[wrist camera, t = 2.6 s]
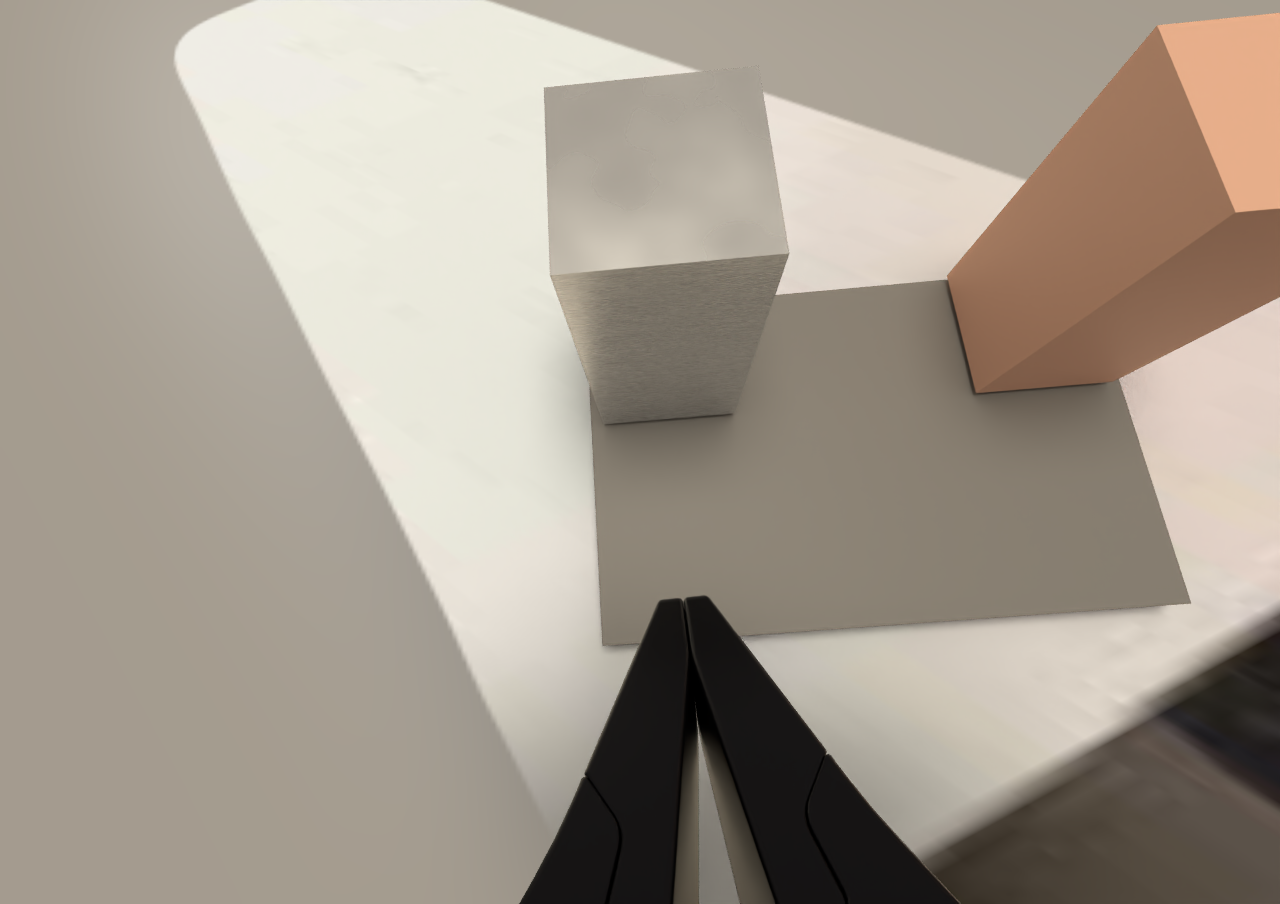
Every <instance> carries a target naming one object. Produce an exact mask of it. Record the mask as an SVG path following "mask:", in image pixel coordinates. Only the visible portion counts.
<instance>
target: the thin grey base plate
mask: <svg viewBox="0 0 1280 904" xmlns="http://www.w3.org/2000/svg"><path fill="white" fill-rule="evenodd" d="M589 386H590V385H589ZM590 406H591V426H592V445H593V465H594V485H595V505H596V525H597V545H598V565H599V585H600V605H601V624H602V644H603V646H606V645H620V644H634V643H640V642H641V640H642V637H643V635H644V632H645V630H646V628H647V625H648V623H649V621H650V618H651V616H652V614H653V611H654V609H655V607H656V604H657V603H658V601H660V600H663V599H672V598H681V599H682V600H683V604H684V599H685V598H686V597H692V596H701V595H706V596H708V597H709V598H710V599H711V600H712V601H713V603H714V604H715V605H716V607H717V608H718V609H719V611H720V612H721V613H722V615H723V616H724V617H725V618H726V620H727V621H728V622H729V624H730V625H731V626H732V628H733V629H734V630H735V632H736V633H737V634H738V635H739V636H745V635H759V634H773V633H787V632H801V631H815V630H829V629H843V628H857V627H871V626H885V625H898V624H912V623H926V622H940V621H954V620H968V619H982V618H996V617H1010V616H1024V615H1038V614H1052V613H1065V612H1079V611H1093V610H1107V609H1121V608H1135V607H1149V606H1163V605H1177V604H1191V601H1190V598H1189V595H1188V592H1187V589H1186V586H1185V583H1184V580H1183V577H1182V573H1181V570H1180V567H1179V564H1178V561H1177V558H1176V555H1175V552H1174V549H1173V546H1172V543H1171V539H1170V536H1169V533H1168V530H1167V527H1166V524H1165V521H1164V518H1163V515H1162V512H1161V508H1160V505H1159V502H1158V499H1157V496H1156V493H1155V490H1154V487H1153V484H1152V481H1151V478H1150V474H1149V471H1148V468H1147V465H1146V462H1145V459H1144V456H1143V453H1142V450H1141V447H1140V443H1139V440H1138V437H1137V434H1136V431H1135V428H1134V425H1133V422H1132V419H1131V416H1130V413H1129V409H1128V406H1127V403H1126V400H1125V397H1124V394H1123V391H1122V388H1121V385H1120V382H1119V379H1117V380H1115V381H1113V382H1103V383H1091V384H1079V385H1067V386H1056V387H1044V388H1032V389H1020V390H1008V391H996V392H984V393H976V391H975V387H974V383H973V379H972V375H971V371H970V367H969V363H968V359H967V355H966V350H965V346H964V342H963V338H962V334H961V330H960V326H959V322H958V318H957V314H956V310H955V306H954V302H953V298H952V294H951V290H950V286H949V282H948V280H939V281H927V282H916V283H905V284H894V285H883V286H872V287H860V288H849V289H838V290H827V291H816V292H805V293H793V294H782V295H775V297H774V300H773V303H772V306H771V309H770V312H769V315H768V317H767V320H766V323H765V326H764V329H763V332H762V335H761V338H760V341H759V344H758V347H757V350H756V353H755V356H754V359H753V362H752V365H751V368H750V370H749V373H748V376H747V379H746V382H745V385H744V388H743V391H742V394H741V397H740V400H739V403H738V406H737V409H736V412H735V413H732V414H720V415H708V416H696V417H684V418H673V419H661V420H649V421H637V422H625V423H613V424H603V421H602V418H601V416H600V413H599V410H598V407H597V405H596V402H595V399H594V396H593V393H592V391H591V388H590Z"/></svg>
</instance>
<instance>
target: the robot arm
mask: <svg viewBox="0 0 1280 904" xmlns="http://www.w3.org/2000/svg"><path fill="white" fill-rule="evenodd" d="M695 706H696V707H695ZM696 714H697V716H696ZM697 721H698V727H697ZM698 728H699V734H700V739H701V744H702V748H703V753H704V757H705V761H706V765H707V769H708V773H709V777H710V781H711V786H712V790H713V794H714V798H715V802H716V806H717V810H718V814H719V819H720V823H721V827H722V831H723V835H724V839H725V843H726V847H727V852H728V856H729V860H730V864H731V868H732V872H733V876H734V880H735V885H736V889H737V893H738V897H739V901H740V904H961V903H960V902H959V901H958V900H957V899H956V898H955V897H954V896H953V895H952V894H951V892H950V891H949V890H948V889H947V888H946V887H945V886H944V885H943V884H942V883H941V882H940V881H939V880H938V879H937V878H936V877H935V876H934V875H933V873H932V872H931V871H930V870H929V869H928V868H927V867H926V866H925V865H924V864H923V863H922V862H921V861H920V860H919V859H918V858H917V857H916V855H915V854H914V853H913V852H912V851H911V850H910V849H909V848H908V847H907V846H906V845H905V844H904V843H903V842H902V840H901V839H900V838H899V837H898V836H897V835H896V834H895V833H894V832H893V830H892V829H891V828H890V827H889V826H888V825H887V824H886V823H885V822H884V820H883V819H882V818H881V817H880V816H879V815H878V814H877V813H876V812H875V810H874V809H873V808H872V807H871V806H870V804H869V803H868V802H867V801H866V799H865V798H864V797H863V796H862V795H861V793H860V792H859V791H858V790H857V788H856V787H855V786H854V785H853V783H852V782H851V781H850V780H849V779H848V777H847V776H846V775H845V773H844V772H843V771H842V770H841V768H840V767H839V766H838V764H837V763H836V762H835V760H834V759H833V758H832V756H831V755H829V754H827V755H826V753H827V751H826V749H825V748H824V746H823V745H822V744H821V742H820V741H819V740H818V739H817V737H816V736H815V735H814V733H813V732H812V731H811V729H810V728H809V727H808V726H807V724H806V723H805V722H804V720H803V719H802V718H801V716H800V715H799V714H798V712H797V711H796V710H795V709H794V707H793V706H792V705H791V703H790V702H789V701H788V699H787V698H786V697H785V695H784V694H783V693H782V692H781V690H780V689H779V688H778V686H777V685H776V684H775V682H774V681H773V680H772V679H771V677H770V676H769V675H768V673H767V672H766V671H765V669H764V668H763V667H762V665H761V664H760V663H759V662H758V660H757V659H756V658H755V656H754V655H753V654H752V652H751V651H750V650H749V648H748V647H747V646H746V645H745V643H744V642H743V641H742V639H741V638H740V637H739V635H738V634H737V633H736V632H735V630H734V629H733V628H732V626H731V625H730V624H729V622H728V621H727V620H726V618H725V617H724V616H723V615H722V613H721V612H720V611H719V609H718V608H717V607H716V605H715V604H714V603H713V601H712V600H711V599H710V598H709V597H708V596H706V595H701V596H692V597H686V598H685V599H684V604H683V600H682V599H681V598H672V599H663V600H660V601H658V603H657V604H656V607H655V609H654V611H653V614H652V616H651V618H650V621H649V623H648V625H647V628H646V630H645V632H644V635H643V637H642V640H641V642H640V644H639V647H638V649H637V651H636V654H635V656H634V658H633V661H632V663H631V665H630V668H629V670H628V672H627V675H626V677H625V679H624V682H623V684H622V686H621V689H620V691H619V693H618V696H617V698H616V700H615V703H614V705H613V707H612V710H611V712H610V714H609V717H608V719H607V721H606V724H605V726H604V729H603V731H602V733H601V736H600V738H599V740H598V743H597V745H596V747H595V750H594V752H593V754H592V757H591V759H590V761H589V764H588V766H587V768H586V771H585V777H583V778H582V779H581V782H580V784H579V786H578V789H577V791H576V793H575V796H574V798H573V800H572V803H571V805H570V807H569V809H568V811H567V814H566V816H565V818H564V820H563V822H562V824H561V826H560V829H559V831H558V833H557V835H556V837H555V839H554V841H553V843H552V845H551V847H550V849H549V851H548V853H547V854H546V856H545V858H544V860H543V862H542V864H541V866H540V868H539V869H538V871H537V873H536V875H535V877H534V879H533V881H532V882H531V884H530V886H529V888H528V890H527V891H526V893H525V895H524V896H523V898H522V900H521V902H520V903H519V904H699V747H698Z"/></svg>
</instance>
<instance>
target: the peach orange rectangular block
mask: <svg viewBox="0 0 1280 904" xmlns="http://www.w3.org/2000/svg"><path fill="white" fill-rule="evenodd" d="M947 278H948V282H949V286H950V290H951V294H952V298H953V302H954V306H955V310H956V314H957V318H958V322H959V326H960V330H961V334H962V338H963V342H964V346H965V350H966V355H967V359H968V363H969V367H970V371H971V375H972V379H973V383H974V387H975V391H976V393H984V392H996V391H1008V390H1020V389H1032V388H1044V387H1056V386H1067V385H1079V384H1091V383H1103V382H1113V381H1115V380H1117V379H1119V378H1121V377H1123V376H1125V375H1127V374H1129V373H1131V372H1133V371H1135V370H1137V369H1139V368H1141V367H1143V366H1145V365H1147V364H1149V363H1151V362H1153V361H1154V360H1156V359H1158V358H1160V357H1162V356H1164V355H1166V354H1168V353H1170V352H1172V351H1174V350H1176V349H1178V348H1180V347H1182V346H1184V345H1186V344H1188V343H1190V342H1192V341H1194V340H1196V339H1198V338H1200V337H1202V336H1204V335H1206V334H1208V333H1210V332H1212V331H1214V330H1216V329H1218V328H1219V327H1221V326H1223V325H1225V324H1227V323H1229V322H1231V321H1233V320H1235V319H1237V318H1239V317H1241V316H1243V315H1245V314H1247V313H1249V312H1251V311H1253V310H1255V309H1257V308H1259V307H1261V306H1263V305H1265V304H1267V303H1269V302H1271V301H1273V300H1275V299H1277V298H1279V297H1280V13H1274V14H1265V15H1254V16H1245V17H1235V18H1226V19H1216V20H1206V21H1197V22H1196V21H1195V22H1186V23H1176V24H1166V25H1158V26H1156V27H1155V29H1154V30H1153V31H1152V32H1151V33H1150V35H1149V36H1148V37H1147V38H1146V39H1145V41H1144V42H1143V43H1142V44H1141V45H1140V47H1139V48H1138V49H1137V50H1136V51H1135V52H1134V54H1133V55H1132V56H1131V57H1130V59H1129V60H1128V61H1127V62H1126V63H1125V64H1124V66H1123V67H1122V68H1121V69H1120V70H1119V72H1118V73H1117V74H1116V75H1115V76H1114V78H1113V79H1112V80H1111V81H1110V82H1109V83H1108V85H1107V86H1106V87H1105V88H1104V89H1103V91H1102V92H1101V93H1100V94H1099V95H1098V97H1097V98H1096V99H1095V100H1094V101H1093V103H1092V104H1091V105H1090V106H1089V107H1088V109H1087V110H1086V111H1085V112H1084V113H1083V115H1082V116H1081V117H1080V118H1079V119H1078V120H1077V122H1076V123H1075V124H1074V125H1073V126H1072V128H1071V129H1070V130H1069V131H1068V132H1067V134H1066V135H1065V136H1064V137H1063V138H1062V139H1061V141H1060V142H1059V143H1058V144H1057V145H1056V147H1055V148H1054V149H1053V150H1052V151H1051V153H1050V154H1049V155H1048V156H1047V157H1046V159H1045V160H1044V161H1043V162H1042V163H1041V164H1040V166H1039V167H1038V168H1037V169H1036V170H1035V172H1034V173H1033V174H1032V175H1031V177H1030V178H1029V179H1028V180H1027V181H1026V182H1025V184H1024V185H1023V186H1022V187H1021V188H1020V189H1019V191H1018V192H1017V193H1016V194H1015V195H1014V197H1013V198H1012V199H1011V200H1010V201H1009V203H1008V204H1007V205H1006V206H1005V207H1004V209H1003V210H1002V211H1001V212H1000V213H999V214H998V216H997V217H996V218H995V219H994V220H993V222H992V223H991V224H990V225H989V226H988V228H987V229H986V230H985V231H984V232H983V234H982V235H981V236H980V237H979V238H978V240H977V241H976V242H975V243H974V244H973V245H972V247H971V248H970V249H969V250H968V251H967V253H966V254H965V255H964V256H963V257H962V259H961V260H960V261H959V262H958V263H957V265H956V266H955V267H954V268H953V269H952V270H951V272H950V273H949V274H948V275H947Z"/></svg>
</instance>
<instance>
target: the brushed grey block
mask: <svg viewBox="0 0 1280 904" xmlns="http://www.w3.org/2000/svg"><path fill="white" fill-rule="evenodd" d="M544 103H545V134H546V166H547V197H548V229H549V260H550V277H551V279H552V282H553V285H554V288H555V291H556V293H557V296H558V299H559V302H560V304H561V307H562V310H563V313H564V316H565V318H566V321H567V324H568V327H569V329H570V332H571V335H572V338H573V341H574V343H575V346H576V349H577V352H578V354H579V357H580V360H581V363H582V366H583V368H584V371H585V374H586V377H587V380H588V382H589V385H590V388H591V391H592V393H593V396H594V399H595V402H596V405H597V407H598V410H599V413H600V416H601V418H602V421H603V424H613V423H625V422H637V421H649V420H661V419H673V418H684V417H696V416H708V415H720V414H732V413H735V412H736V409H737V406H738V403H739V400H740V397H741V394H742V391H743V388H744V385H745V382H746V379H747V376H748V373H749V370H750V368H751V365H752V362H753V359H754V356H755V353H756V350H757V347H758V344H759V341H760V338H761V335H762V332H763V329H764V326H765V323H766V320H767V317H768V315H769V312H770V309H771V306H772V303H773V300H774V297H775V294H776V291H777V288H778V285H779V282H780V279H781V276H782V273H783V270H784V267H785V264H786V261H787V259H788V256H789V249H788V242H787V236H786V230H785V224H784V218H783V212H782V206H781V200H780V194H779V188H778V181H777V175H776V169H775V163H774V157H773V151H772V145H771V139H770V133H769V127H768V120H767V114H766V108H765V102H764V96H763V90H762V84H761V78H760V72H759V66H753V67H743V68H733V69H723V70H713V71H703V72H693V73H683V74H674V75H664V76H654V77H644V78H634V79H624V80H615V81H605V82H595V83H585V84H575V85H565V86H555V87H546V88H544Z"/></svg>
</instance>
